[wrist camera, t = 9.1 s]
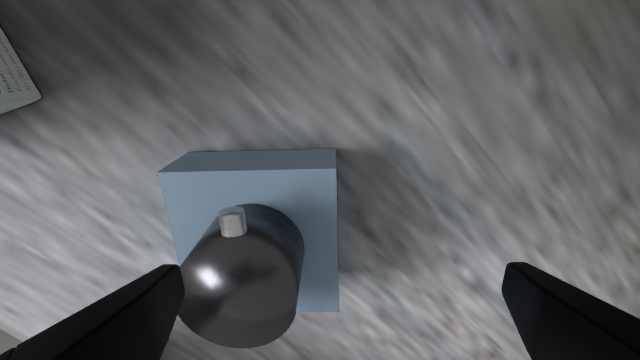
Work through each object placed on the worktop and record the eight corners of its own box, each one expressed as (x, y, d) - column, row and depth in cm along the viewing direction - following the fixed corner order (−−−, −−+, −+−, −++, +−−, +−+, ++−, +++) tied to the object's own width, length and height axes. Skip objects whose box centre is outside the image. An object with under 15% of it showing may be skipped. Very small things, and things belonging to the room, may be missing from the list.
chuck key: (311, 266, 24) (301, 362, 16) (233, 267, 24) (188, 361, 17) (305, 166, 21) (290, 227, 13) (216, 168, 21) (152, 229, 14)
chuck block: (212, 273, 25) (190, 311, 21) (187, 152, 21) (157, 172, 18) (338, 273, 24) (339, 311, 21) (335, 148, 21) (336, 168, 17)
